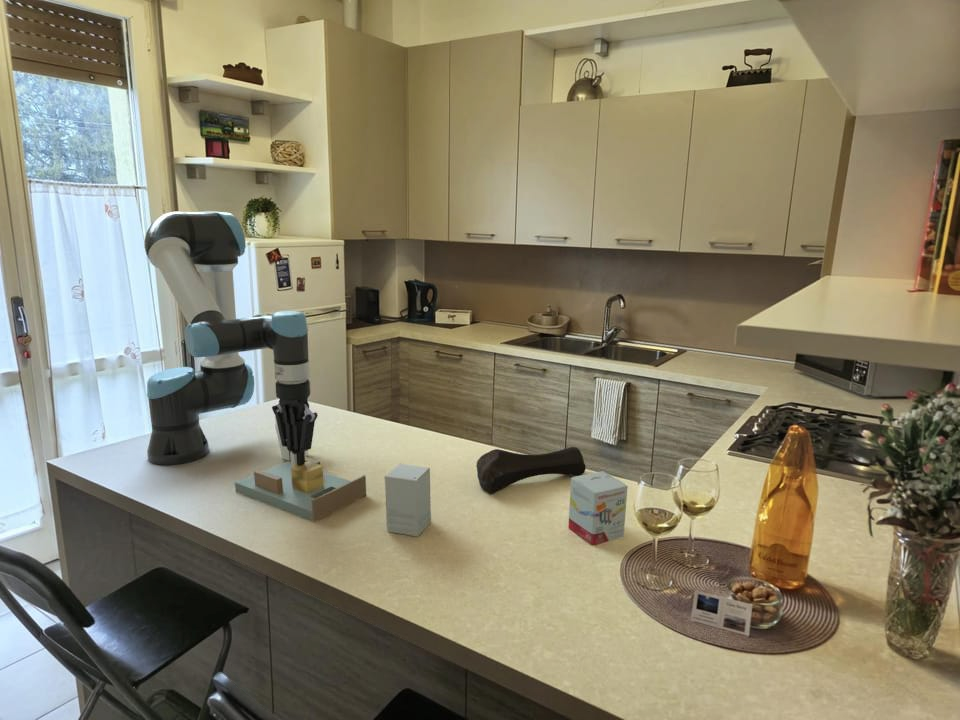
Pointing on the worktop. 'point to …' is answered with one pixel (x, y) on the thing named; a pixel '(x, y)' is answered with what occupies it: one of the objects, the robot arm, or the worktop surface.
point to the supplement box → (408, 499)
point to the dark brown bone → (525, 467)
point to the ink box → (597, 507)
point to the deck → (311, 506)
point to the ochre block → (307, 477)
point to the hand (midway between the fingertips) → (298, 476)
